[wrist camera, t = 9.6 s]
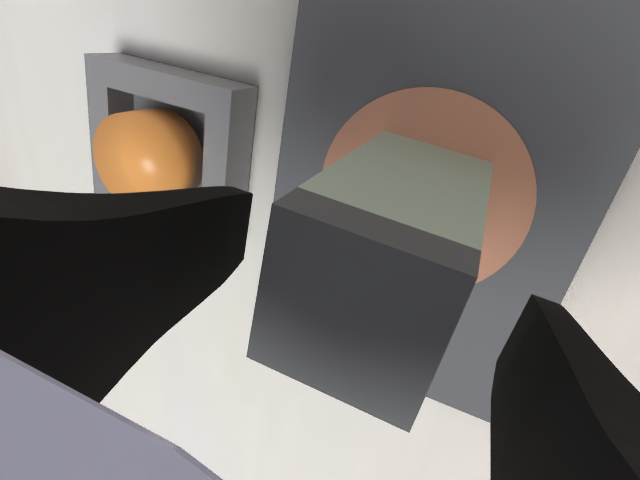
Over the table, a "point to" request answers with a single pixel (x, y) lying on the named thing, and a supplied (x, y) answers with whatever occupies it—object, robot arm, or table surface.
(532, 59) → the drawing mat
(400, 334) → the grey and green block
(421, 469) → the table surface
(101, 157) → the button
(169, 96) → the button housing
